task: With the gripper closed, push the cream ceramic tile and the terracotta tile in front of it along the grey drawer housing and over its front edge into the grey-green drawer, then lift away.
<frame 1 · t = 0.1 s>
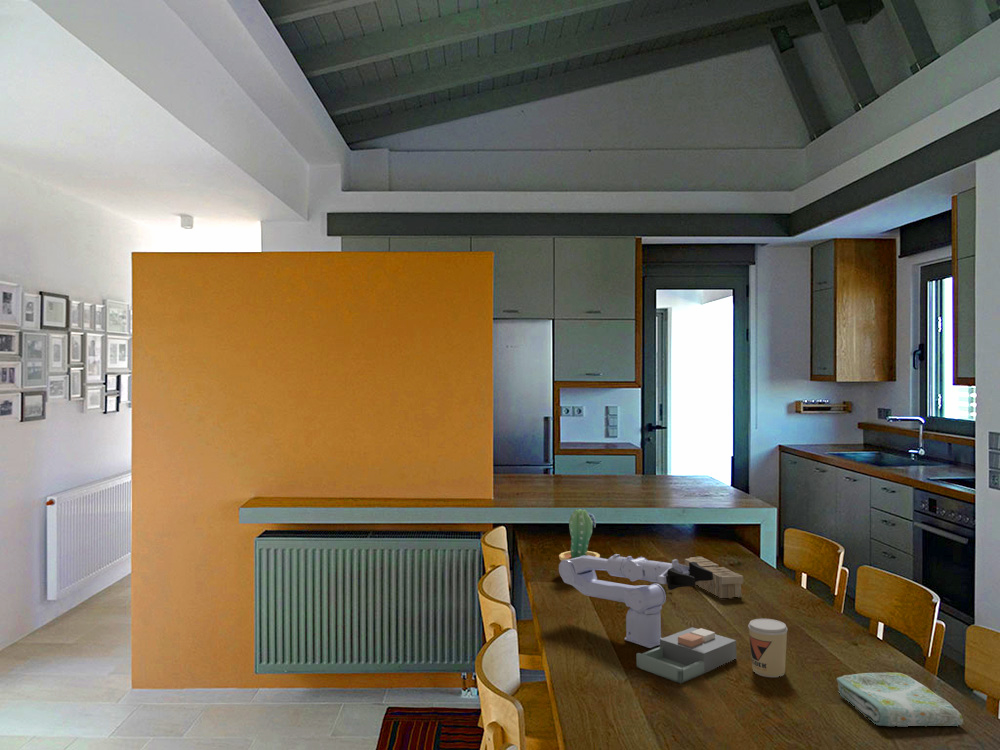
hand: (703, 578, 200), 22 cm above the table, tool horizontal, fingers open, 7 cm apart
grey drawer housing: (698, 658, 202), on the table
grey-green drawer: (670, 670, 194), on the table
coffee cup: (768, 672, 192), on the table
towel: (894, 710, 170), on the table
cream tile: (702, 637, 203), point 5 cm above the table, touching grey drawer housing
potted cactus: (579, 576, 285), on the table
block tower: (711, 588, 267), on the table
terracotta tile: (690, 642, 200), point 5 cm above the table, touching grey drawer housing
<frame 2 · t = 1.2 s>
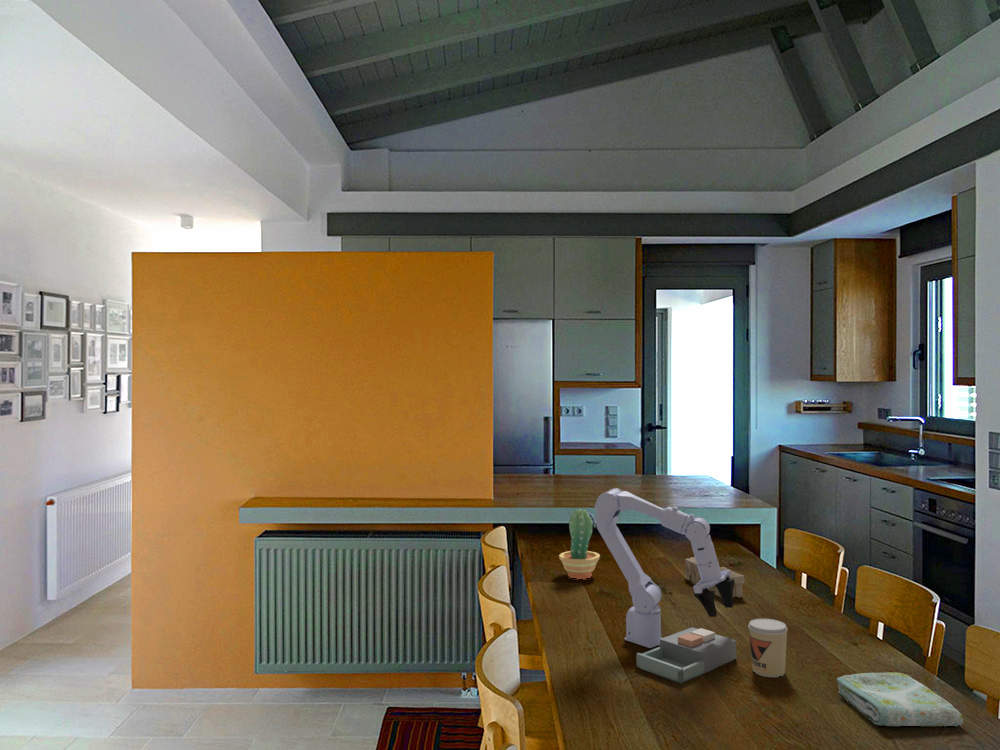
hand: (721, 611, 206), 11 cm above the table, tool tilted 15°, fingers open, 7 cm apart
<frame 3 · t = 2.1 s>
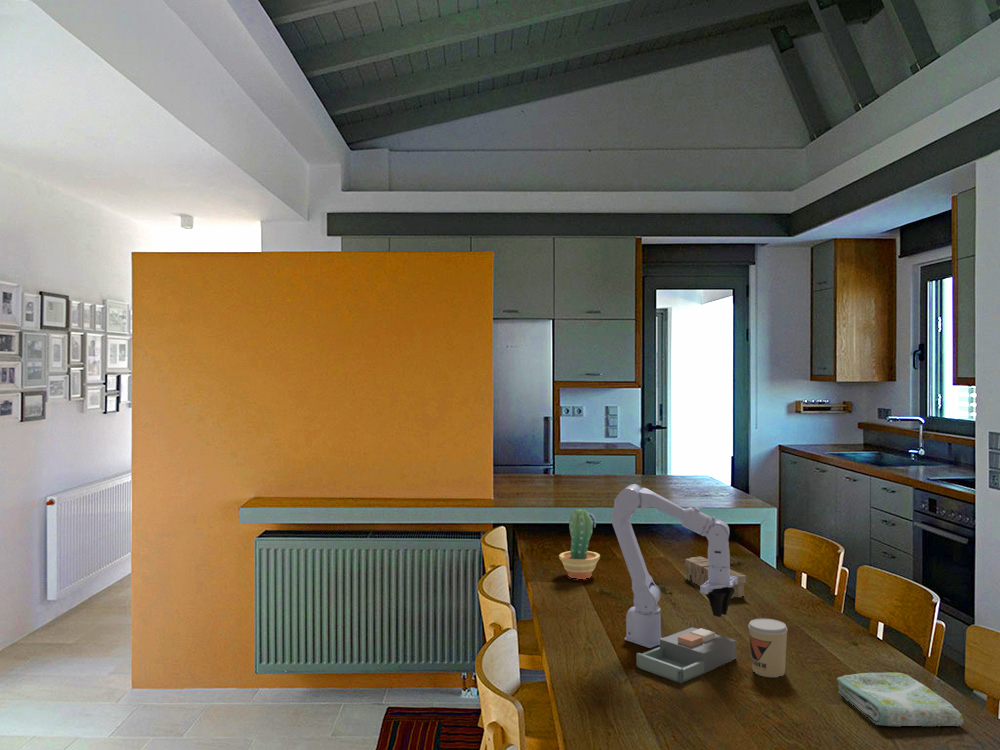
hand: (719, 615, 208), 9 cm above the table, tool pointing down, fingers closed
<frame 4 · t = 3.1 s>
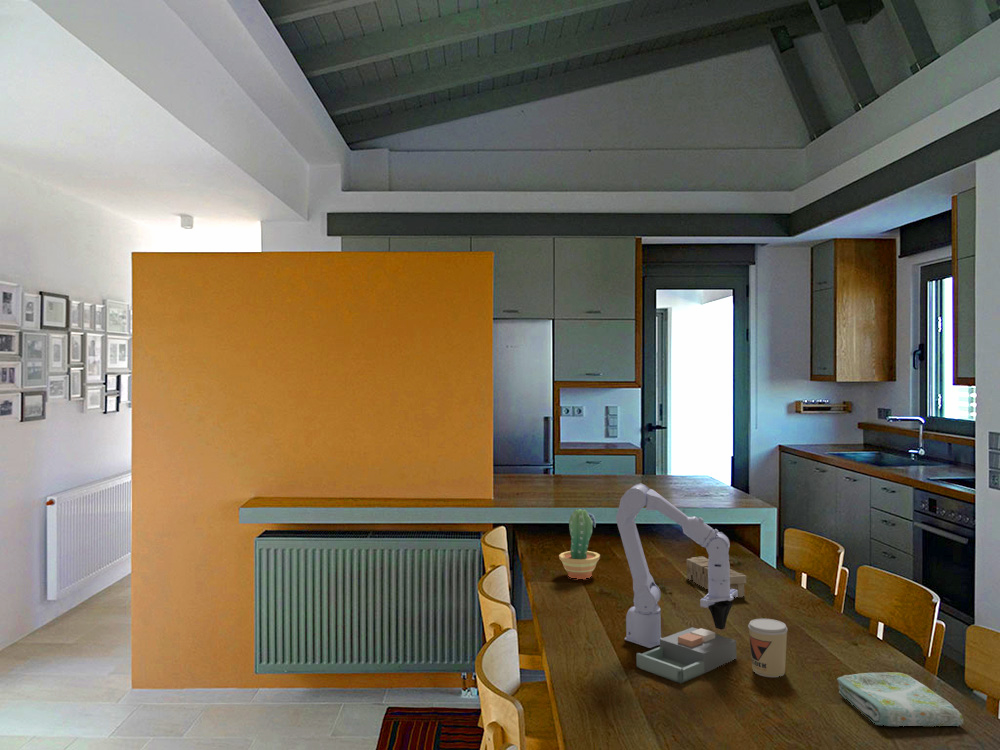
hand: (719, 628, 208), 6 cm above the table, tool pointing down, fingers closed
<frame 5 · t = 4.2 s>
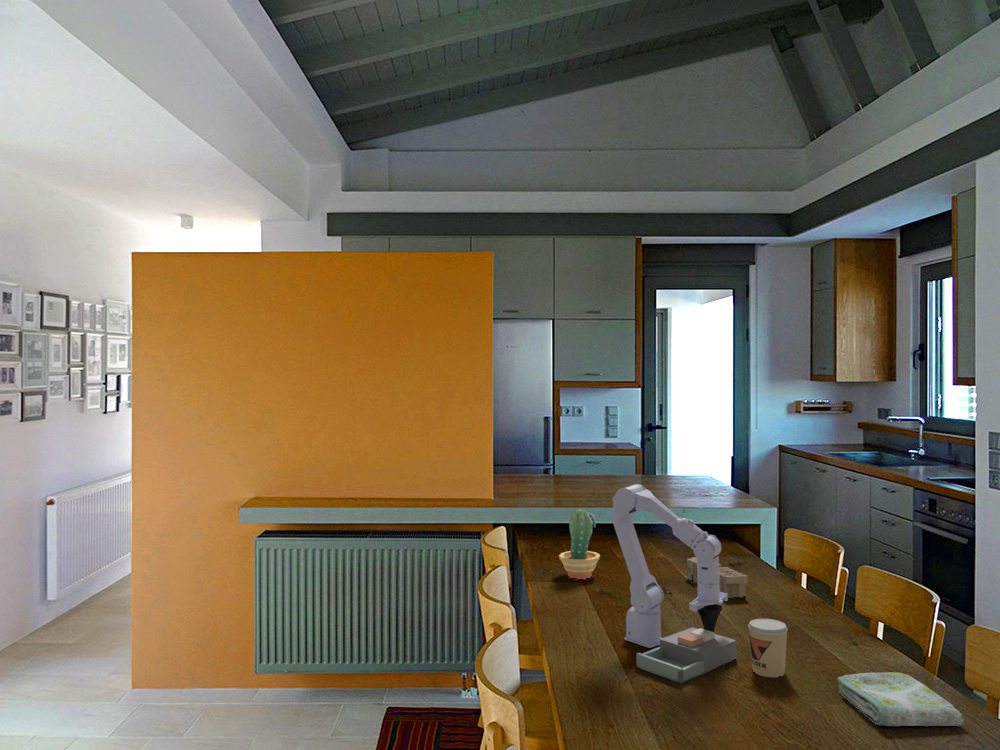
hand: (709, 632, 205), 6 cm above the table, tool pointing down, fingers closed
cream tile: (702, 637, 203), point 5 cm above the table, touching gripper
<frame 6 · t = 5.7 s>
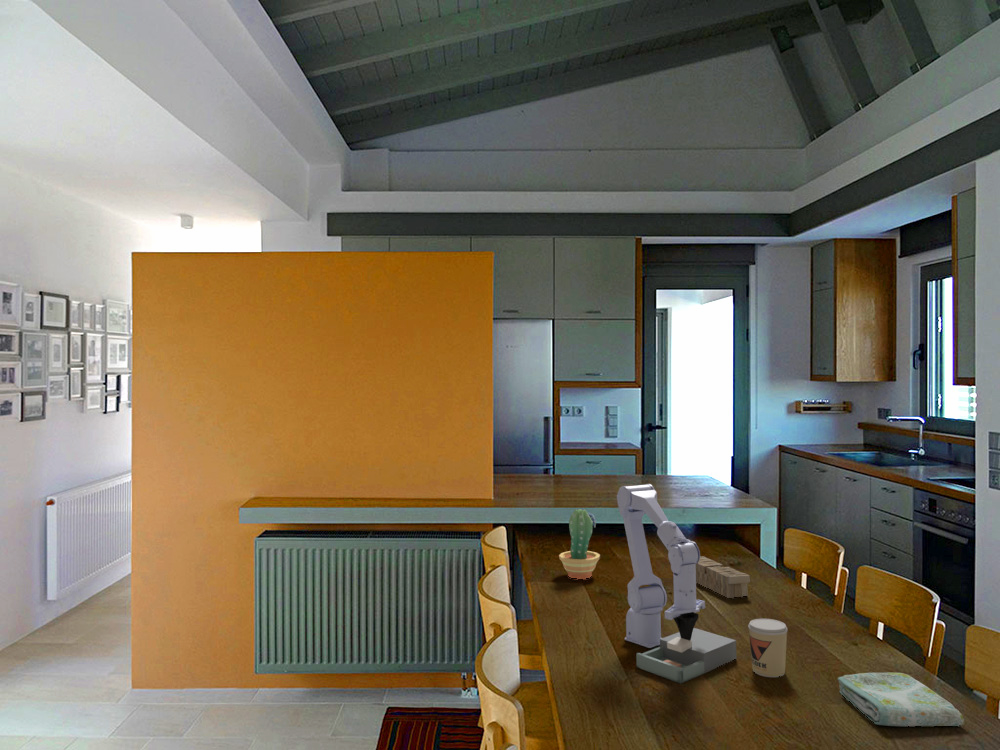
hand: (685, 641, 199), 6 cm above the table, tool pointing down, fingers closed
cream tile: (679, 647, 197), point 5 cm above the table, touching grey drawer housing, gripper
terracotta tile: (668, 664, 193), point 2 cm above the table, tilted 180°, touching grey-green drawer
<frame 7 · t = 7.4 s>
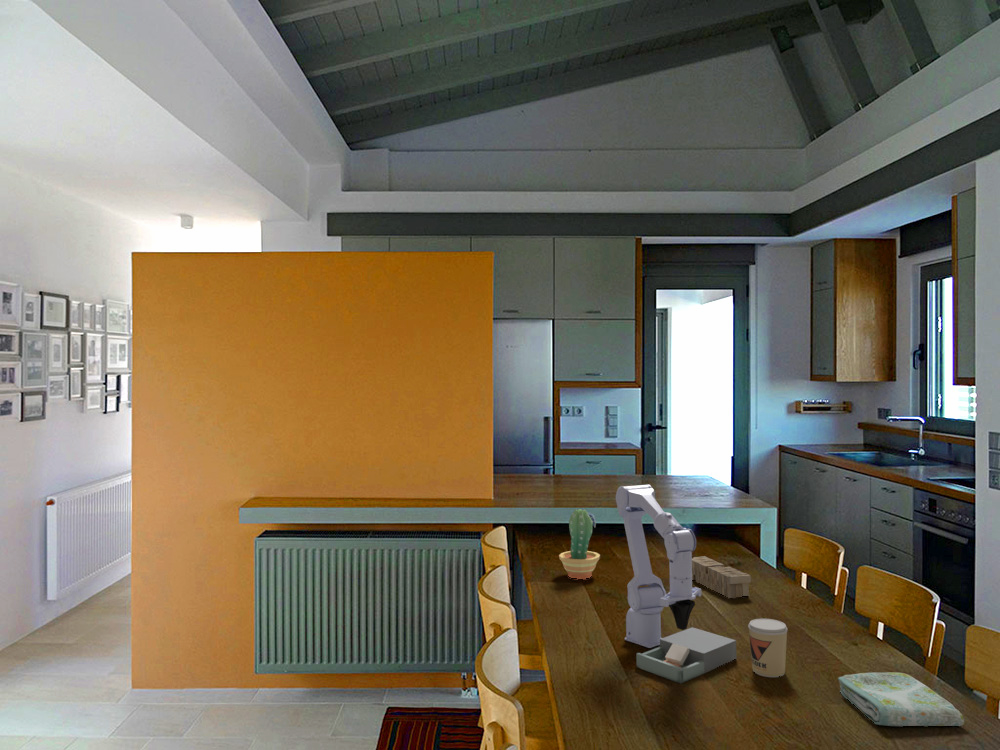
hand: (681, 628, 198), 9 cm above the table, tool pointing down, fingers closed
cream tile: (678, 656, 196), point 3 cm above the table, tilted 33°, touching grey drawer housing, terracotta tile
terracotta tile: (668, 664, 193), point 2 cm above the table, tilted 180°, touching grey-green drawer, cream tile
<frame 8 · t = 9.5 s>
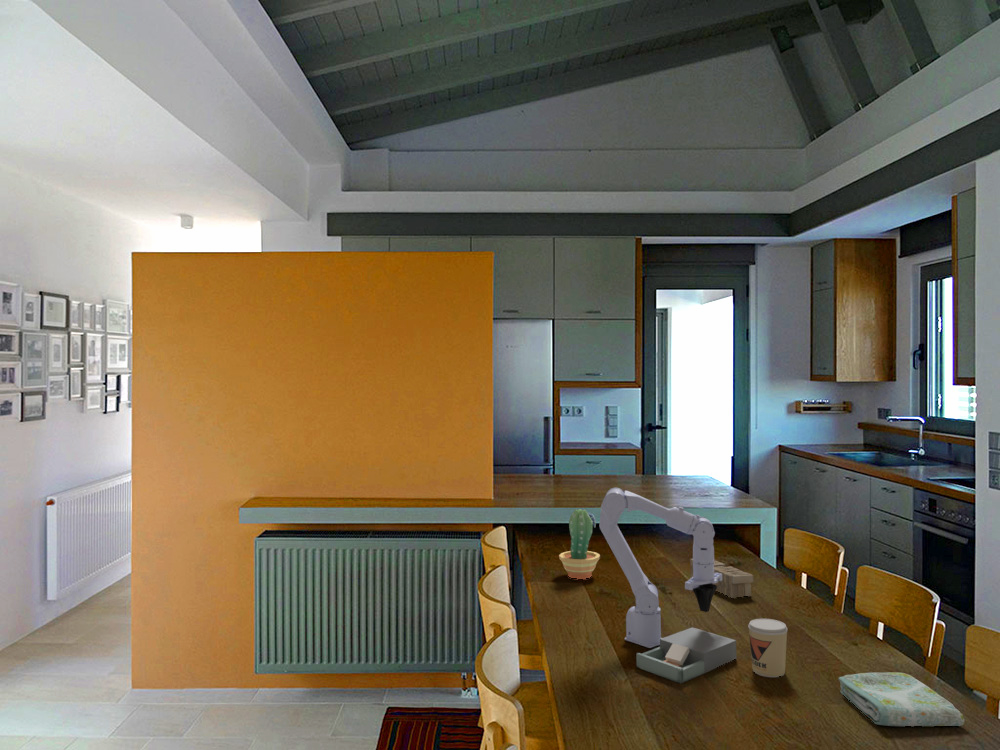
hand: (704, 610, 212), 9 cm above the table, tool pointing down, fingers closed
at the end: terracotta tile inside the target area on the grey-green drawer (1.5 cm from its centre), point 1.9 cm above the grey-green drawer's base; cream tile inside the target area on the grey-green drawer (2.2 cm from its centre), point 3.1 cm above the grey-green drawer's base; coffee cup moved 0.2 cm from its start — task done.
